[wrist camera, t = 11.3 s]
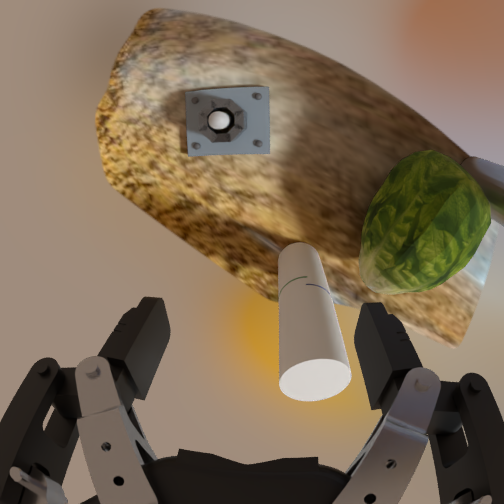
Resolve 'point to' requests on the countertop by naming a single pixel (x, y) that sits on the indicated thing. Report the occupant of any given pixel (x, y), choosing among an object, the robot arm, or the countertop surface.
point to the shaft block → (229, 121)
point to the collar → (216, 134)
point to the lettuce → (422, 225)
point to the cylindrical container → (308, 329)
